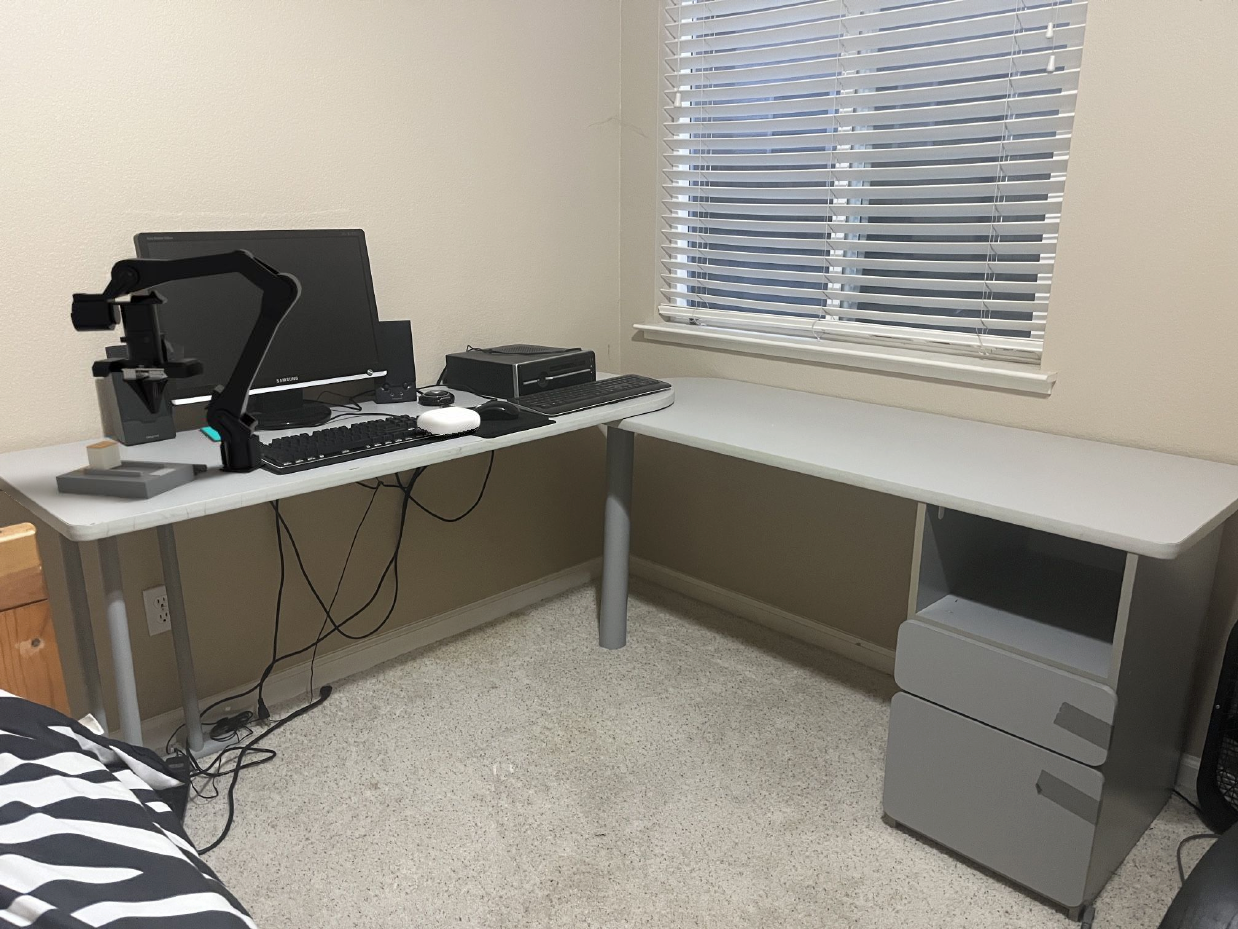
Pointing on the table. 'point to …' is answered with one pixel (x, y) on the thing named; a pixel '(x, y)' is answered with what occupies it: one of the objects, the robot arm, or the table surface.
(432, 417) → the earbud case
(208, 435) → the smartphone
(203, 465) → the grey thin rod
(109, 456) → the toggle
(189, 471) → the grey tray
